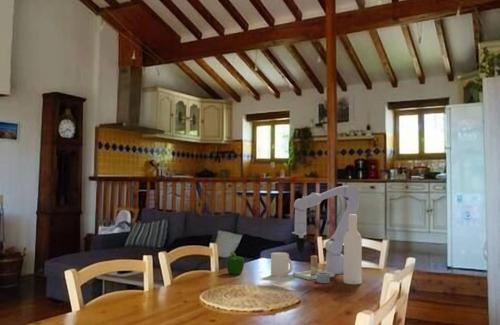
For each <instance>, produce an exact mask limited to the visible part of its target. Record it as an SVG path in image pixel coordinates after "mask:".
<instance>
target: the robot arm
mask: <svg viewBox="0 0 500 325" xmlns="http://www.w3.org/2000/svg"><path fill="white" fill-rule="evenodd" d="M335 196H340V197H341V196H342V198H344V200H345V203H346V204H347V206H346V209H345V211H344V213H343V214H342V216H341V219H340V221H339V223H338V224H337V227H336V229H335V230H334V233H333V234H332V235H331V236H330V238H329V239H328V240H327V241H326V242H325V244H324V247H325V249H326V253H325V256H326V257H325V271H326V272H331V273H335V275H341V274H344V254H342V253H343V247H344V236H345V233H346V232H347V231H348V230H349V219H348V217H349V214H356V215H357V212H358V211H359V207H360V190H359V189H358V187H357V186H356V185H354V184H344V185H340V186H337V187H333V188H331V189H328V190H326V191H324V192H322V193H318V192H314V191H313V192H311V193H310V194H309V195H306V196H305V195H303V196H302V197H301V198H296V199H295V201H294V203H293V208H294V231H292V232H291V234H292V235H293V234H294V235H293V237H294V239H295V242H296V248H297V253H304V249H305V244H306V242H307V239H308V238H306V235H307V233H308V232H307V209H308V208H312V207H315V206H318V205H320V204H321V203H322V202H323V201H324V200H326V199H329V198H332V197H335Z"/></svg>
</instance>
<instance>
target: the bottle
mask: <svg viewBox="0 0 500 325" xmlns="http://www.w3.org/2000/svg"><path fill="white" fill-rule="evenodd" d="M348 219H349V229H348V231H347V232H346V233H345V236H344V243H343V255H344V273H343V276H342V277H343V278H342V279H343V283H344V284H347V285H362V281H363V278H362V277H363V275H362V268H363V265H362V262H363V260H362V255H363V254H362V253H363V252H362V251H363V248H362V247H363V245H362V244H363V242H362V241H363V238H362V235H361V233H360V232H359V231H358V215H357V213H356V214H349V217H348Z"/></svg>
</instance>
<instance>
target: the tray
mask: <svg viewBox="0 0 500 325" xmlns="http://www.w3.org/2000/svg"><path fill="white" fill-rule="evenodd" d="M320 272H321V273H329V274H330V278H333V277H335V275H336V274H335V273H331V272H326V270H322V269H317V273H320ZM293 277H296V278H299V279H304V280H308V281H313V280H317V275H316V276H311V270H305V271H298V272H296V271H295V272H293Z"/></svg>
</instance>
